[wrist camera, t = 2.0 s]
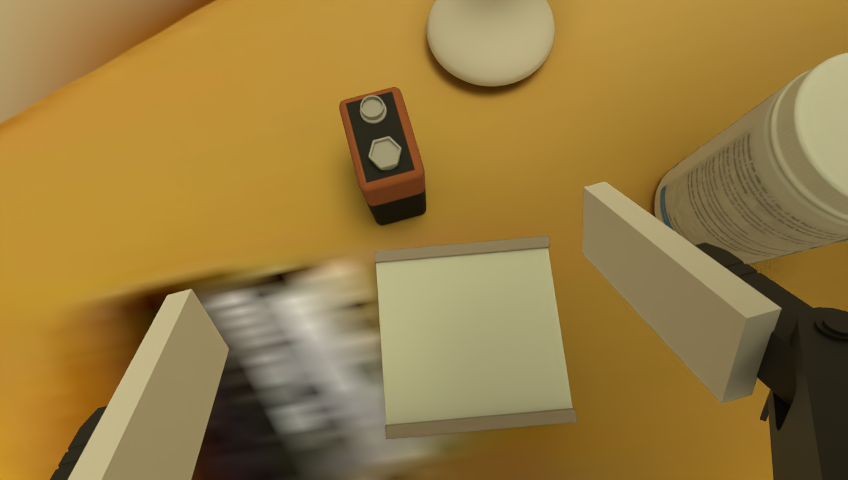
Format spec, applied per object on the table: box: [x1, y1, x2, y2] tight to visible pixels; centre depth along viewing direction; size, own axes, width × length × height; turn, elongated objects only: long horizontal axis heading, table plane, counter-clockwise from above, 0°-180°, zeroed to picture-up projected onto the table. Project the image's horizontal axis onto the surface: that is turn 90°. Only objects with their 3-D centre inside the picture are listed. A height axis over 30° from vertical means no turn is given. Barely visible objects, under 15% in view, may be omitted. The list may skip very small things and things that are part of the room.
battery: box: [339, 87, 426, 225], centre depth 32 cm, size 4×7×10 cm, turn 16°
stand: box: [374, 236, 577, 439], centre depth 32 cm, size 13×13×4 cm
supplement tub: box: [655, 53, 848, 264], centre depth 28 cm, size 10×10×15 cm
